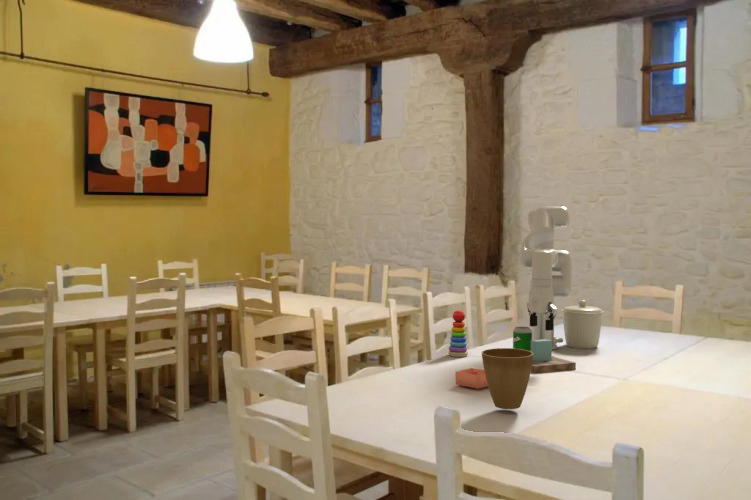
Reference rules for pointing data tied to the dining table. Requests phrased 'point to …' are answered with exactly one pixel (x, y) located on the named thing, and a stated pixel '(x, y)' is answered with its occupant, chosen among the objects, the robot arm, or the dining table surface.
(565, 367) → the walnut board
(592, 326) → the canister
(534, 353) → the teal block
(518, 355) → the plant pot
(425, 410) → the dining table surface
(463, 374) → the pottery
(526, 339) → the soda can
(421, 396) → the dining table surface
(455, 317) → the stacking toy
